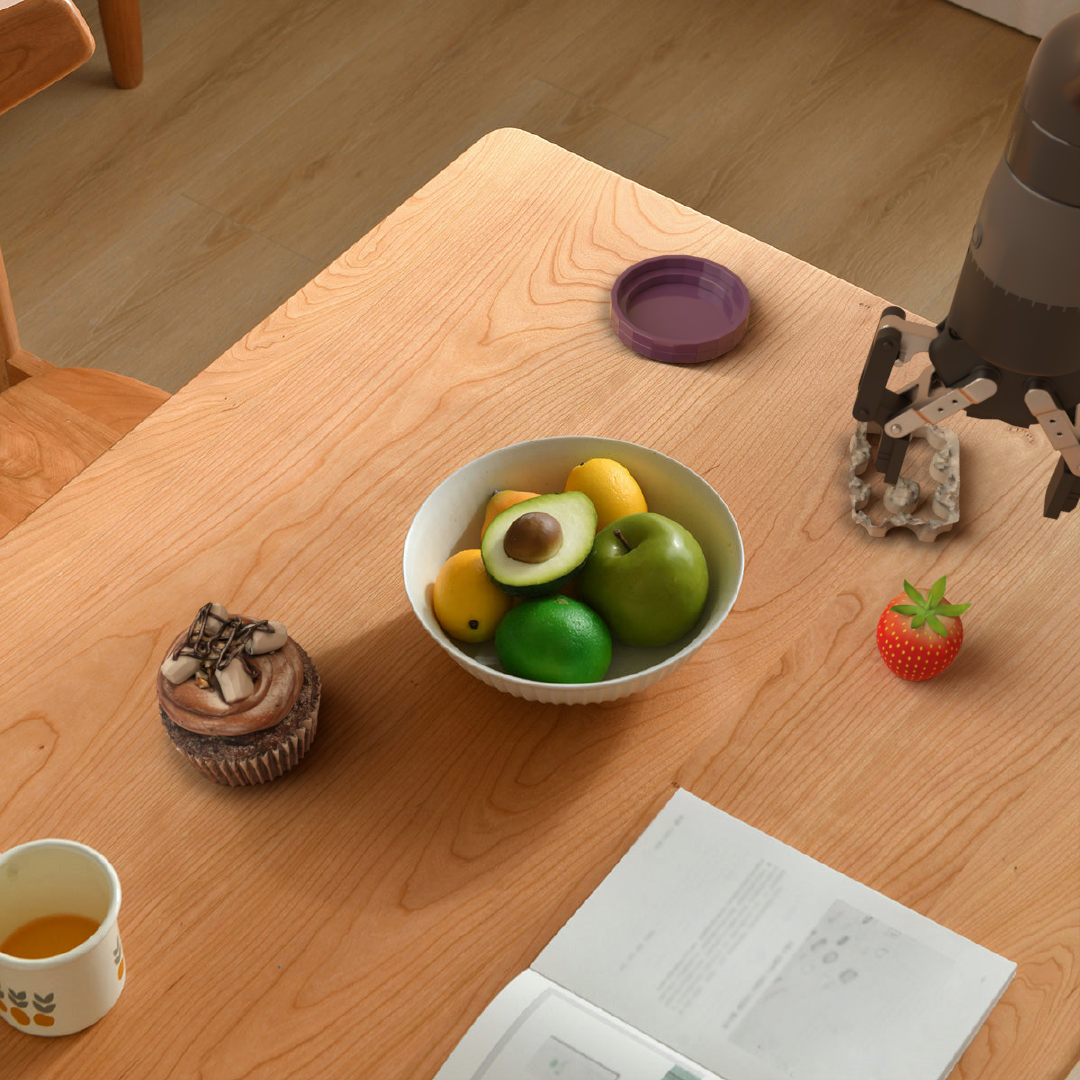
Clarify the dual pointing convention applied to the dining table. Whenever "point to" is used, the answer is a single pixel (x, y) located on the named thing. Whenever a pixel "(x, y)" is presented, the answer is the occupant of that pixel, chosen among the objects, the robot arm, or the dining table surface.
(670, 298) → the dish
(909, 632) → the fruit
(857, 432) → the egg carton
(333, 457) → the dining table surface
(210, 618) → the cupcake
